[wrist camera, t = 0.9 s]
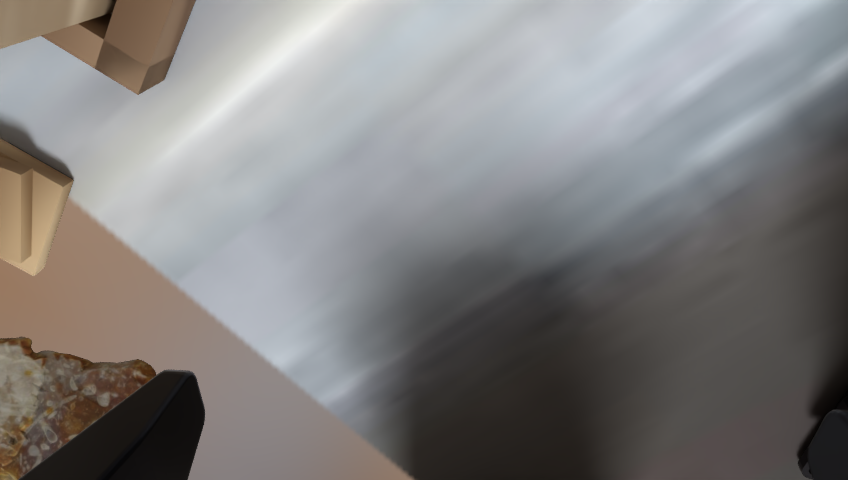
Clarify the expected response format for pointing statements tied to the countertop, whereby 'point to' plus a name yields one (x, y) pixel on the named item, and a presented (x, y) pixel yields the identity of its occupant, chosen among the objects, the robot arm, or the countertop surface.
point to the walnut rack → (129, 40)
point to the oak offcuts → (29, 208)
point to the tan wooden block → (45, 17)
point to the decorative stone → (54, 400)
